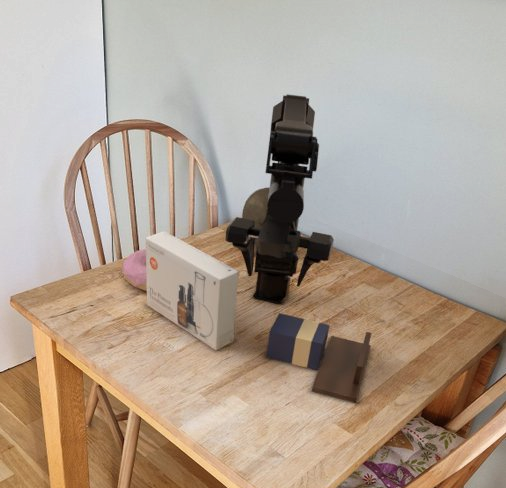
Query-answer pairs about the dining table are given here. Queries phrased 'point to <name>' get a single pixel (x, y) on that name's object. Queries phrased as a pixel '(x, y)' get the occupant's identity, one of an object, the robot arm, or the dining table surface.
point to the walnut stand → (342, 368)
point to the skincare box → (191, 289)
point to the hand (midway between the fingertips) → (274, 280)
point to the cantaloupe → (256, 208)
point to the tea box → (297, 341)
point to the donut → (136, 269)
